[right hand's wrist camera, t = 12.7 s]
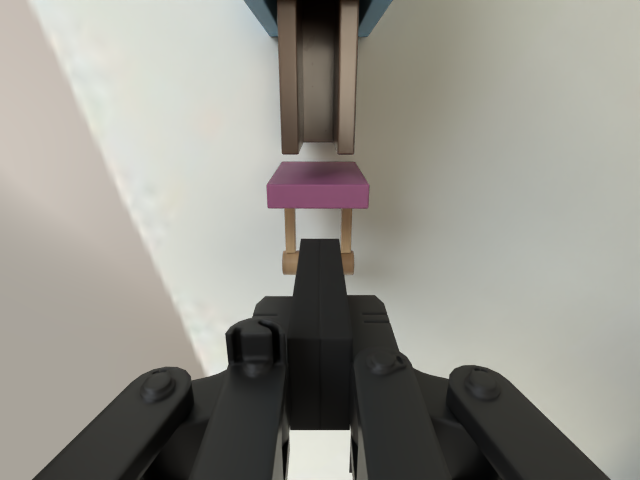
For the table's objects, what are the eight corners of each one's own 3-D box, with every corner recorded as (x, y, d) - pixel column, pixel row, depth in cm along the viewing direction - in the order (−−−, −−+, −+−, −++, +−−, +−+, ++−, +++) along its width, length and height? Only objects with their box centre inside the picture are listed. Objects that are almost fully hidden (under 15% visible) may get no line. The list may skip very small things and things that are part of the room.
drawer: (352, 252, 27) (363, 305, 20) (284, 252, 27) (272, 305, 20) (369, -227, 18) (400, -442, 11) (268, -227, 18) (235, -441, 11)
